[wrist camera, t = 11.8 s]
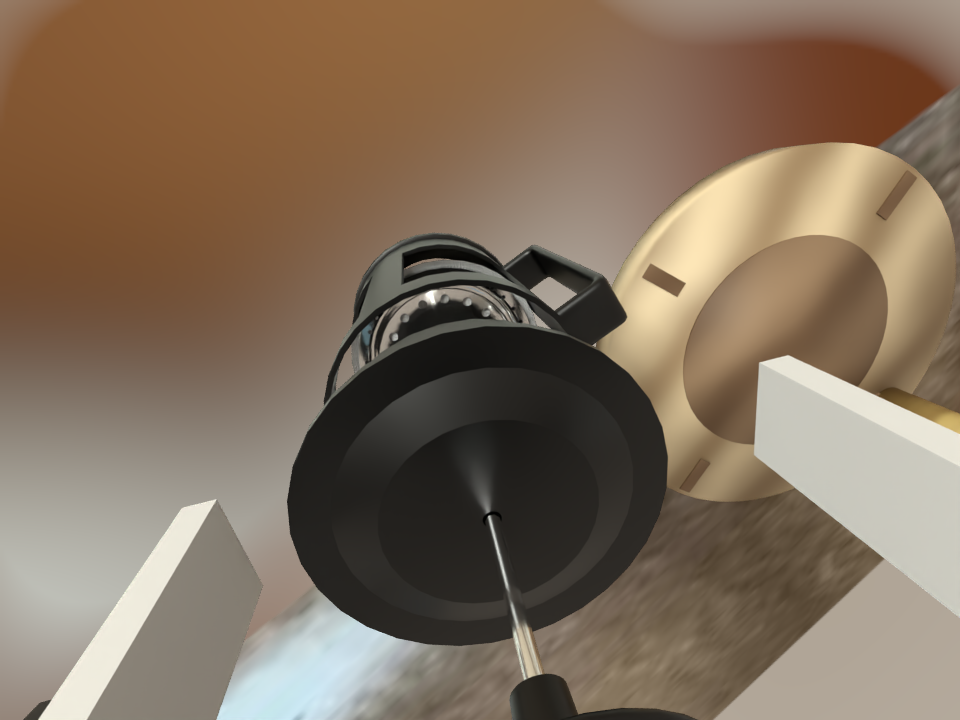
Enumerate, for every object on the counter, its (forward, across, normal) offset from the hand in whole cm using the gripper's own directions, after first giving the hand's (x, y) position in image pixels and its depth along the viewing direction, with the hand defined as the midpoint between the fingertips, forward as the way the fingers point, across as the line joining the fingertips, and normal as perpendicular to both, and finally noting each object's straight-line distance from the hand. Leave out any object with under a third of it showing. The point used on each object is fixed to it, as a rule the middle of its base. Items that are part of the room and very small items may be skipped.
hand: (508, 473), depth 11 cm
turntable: (+15, +19, -6) cm, 25 cm away
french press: (+16, 0, 0) cm, 17 cm away
